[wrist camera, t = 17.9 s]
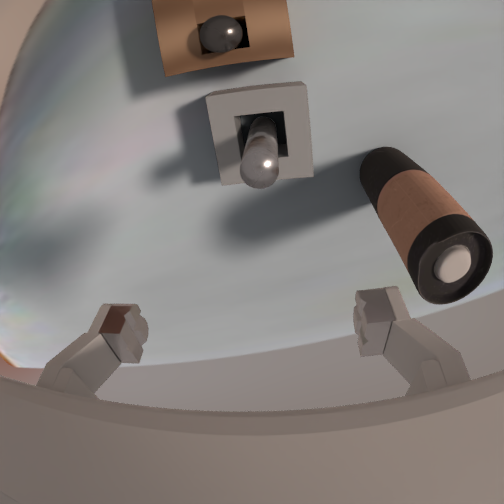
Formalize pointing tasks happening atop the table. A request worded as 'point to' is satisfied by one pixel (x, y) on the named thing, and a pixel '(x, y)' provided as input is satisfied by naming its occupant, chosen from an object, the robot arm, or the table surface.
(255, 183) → the grey tapered rounded rod
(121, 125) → the table surface
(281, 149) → the grey square ring block
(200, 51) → the socket block
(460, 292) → the travel mug
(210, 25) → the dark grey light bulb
